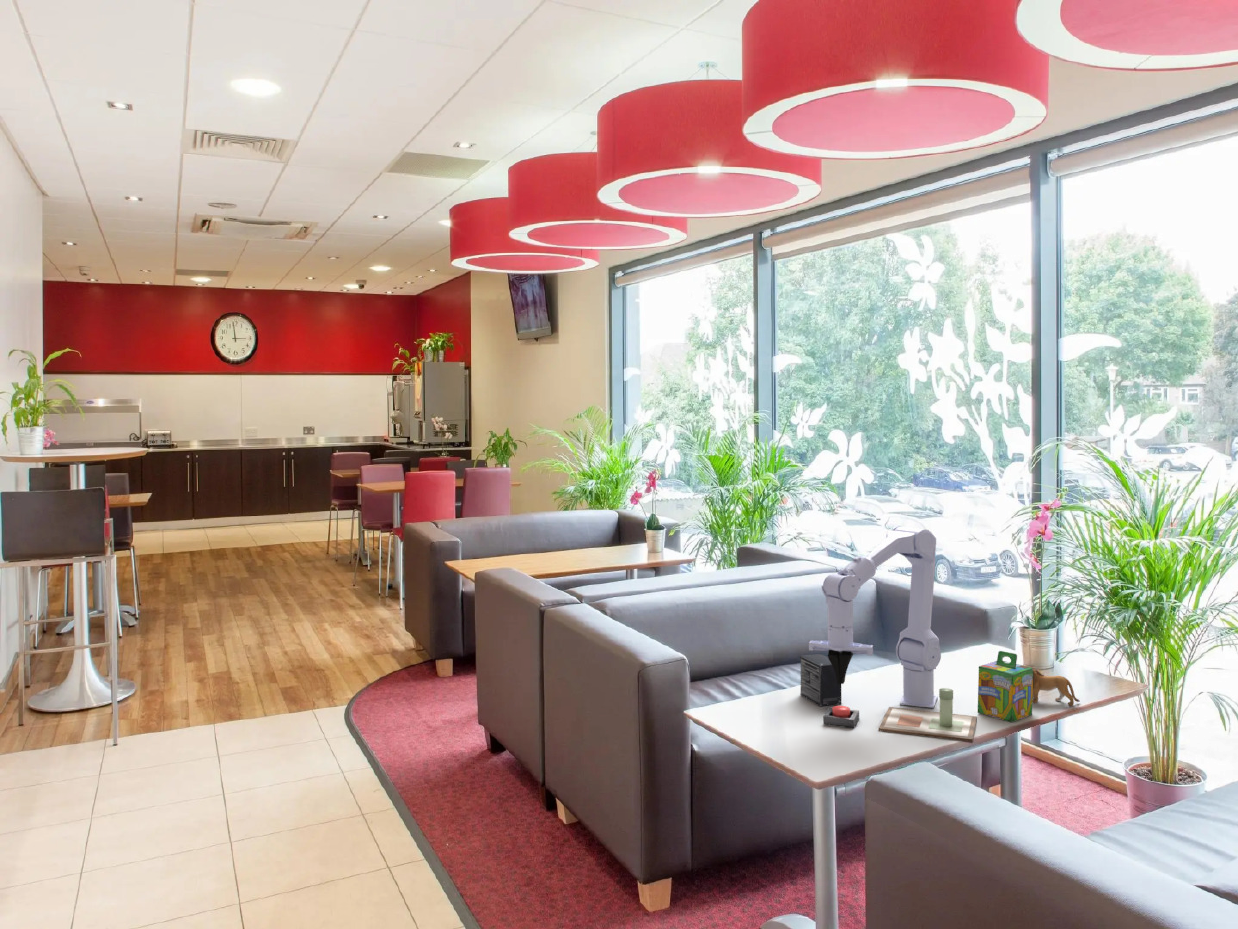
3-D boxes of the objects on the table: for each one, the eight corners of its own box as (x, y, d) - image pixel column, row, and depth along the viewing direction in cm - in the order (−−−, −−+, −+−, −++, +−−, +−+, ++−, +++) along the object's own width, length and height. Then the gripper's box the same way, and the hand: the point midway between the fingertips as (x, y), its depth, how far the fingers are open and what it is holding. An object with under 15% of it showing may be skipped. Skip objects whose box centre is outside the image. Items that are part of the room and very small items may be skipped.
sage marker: (939, 721, 210) (939, 687, 210) (953, 723, 209) (953, 689, 209) (938, 725, 207) (938, 691, 207) (952, 727, 206) (952, 692, 206)
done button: (834, 712, 217) (834, 705, 217) (851, 714, 215) (851, 706, 215) (831, 717, 213) (830, 710, 213) (848, 719, 211) (848, 712, 211)
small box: (843, 704, 227) (843, 662, 226) (820, 707, 225) (820, 665, 224) (821, 692, 237) (821, 652, 236) (799, 695, 235) (798, 655, 234)
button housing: (829, 715, 219) (829, 707, 219) (859, 719, 216) (859, 710, 216) (823, 724, 212) (823, 716, 212) (853, 728, 209) (853, 720, 209)
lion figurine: (1017, 704, 224) (1017, 668, 223) (1013, 697, 229) (1013, 662, 229) (1082, 707, 221) (1082, 670, 220) (1076, 700, 226) (1076, 664, 225)
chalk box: (976, 713, 218) (976, 652, 217) (997, 705, 223) (997, 646, 222) (1013, 723, 210) (1013, 660, 209) (1034, 715, 216) (1034, 653, 215)
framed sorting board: (889, 709, 222) (888, 706, 222) (976, 719, 214) (976, 715, 214) (878, 730, 208) (878, 727, 208) (972, 742, 199) (972, 738, 199)
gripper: (805, 626, 212) (806, 684, 213) (869, 631, 206) (869, 690, 207) (812, 620, 219) (813, 676, 219) (874, 624, 213) (874, 682, 213)
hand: (840, 682), depth 214 cm, fingers closed
